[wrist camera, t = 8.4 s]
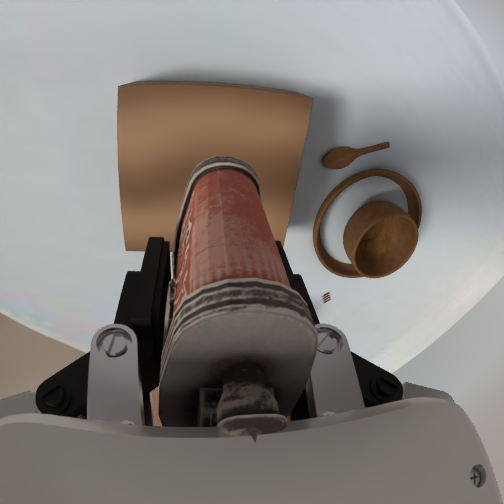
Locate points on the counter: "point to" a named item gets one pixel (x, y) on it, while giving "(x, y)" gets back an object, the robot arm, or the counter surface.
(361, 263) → the place setting
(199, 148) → the walnut base
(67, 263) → the counter surface
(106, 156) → the counter surface
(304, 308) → the lighter
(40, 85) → the counter surface
